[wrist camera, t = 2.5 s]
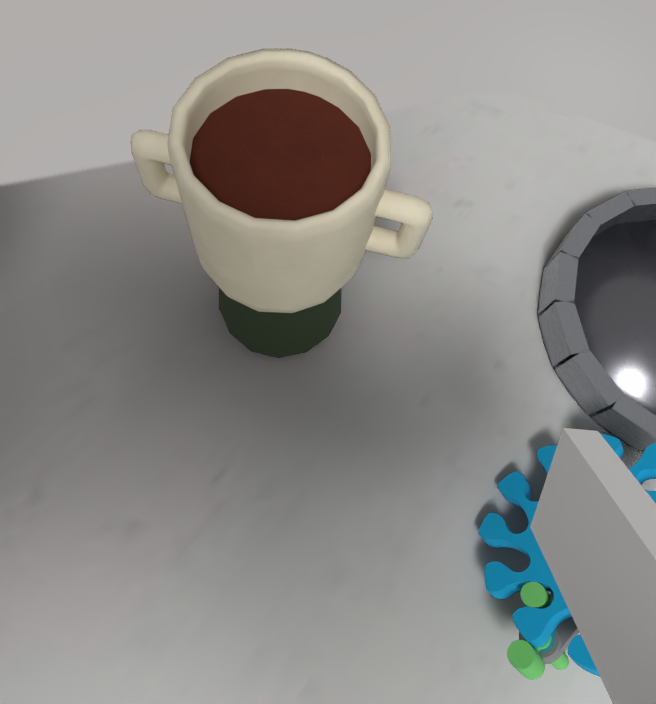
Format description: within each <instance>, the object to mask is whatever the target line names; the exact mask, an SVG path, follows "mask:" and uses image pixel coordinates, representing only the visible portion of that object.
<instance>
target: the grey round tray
mask: <svg viewBox="0 0 656 704" xmlns="http://www.w3.org/2000/svg"><path fill="white" fill-rule="evenodd" d="M538 315H539V317H538V319H539V322H540V329H541V333H542V338H543V342H544V345H545V348H546V351H547V354H548V356H549V359H550V361H551V363H552V366H553V367H554V369H555V371H556V373H557V375H558V377H559V379H560V380H561V382H562V383H563V385H564V386H565V388H566V389H567V391H568V392H569V394H570V395H571V396H572V397H573V398H574V400H575V401H576V402H577V403H578V404H579V406H580V407H581V408H582V409H583V410H584V411H585V412H586V413H587V414H588V415H589V416H590V417H591V418H592V419H593V420H594V421H595V422H596V423H598V424H599V425H600V426H602V427H603V428H604V429H606V430H607V431H608V432H609V433H611V434H612V435H614V436H615V437H617V438H618V439H620V440H622V441H623V442H625V443H627V444H628V445H630V446H632V447H634V448H636V449H637V450H639V451H640V450H641V451H642V452H643V453H644V451H645V449H646V448H647V447H648V446H649V445H651V444H653V443H656V188H648V189H637V190H627V191H626V192H625V191H624V192H622V193H620V194H618V195H617V196H615V197H613V198H611V199H609V200H608V201H606V202H604V203H602V204H600V205H598V206H597V207H595V208H593V209H591V210H589V211H588V212H586V213H585V214H584V215H583V216H582V217H581V219H580V220H579V221H578V222H577V223H576V224H575V225H574V226H573V227H572V229H571V230H570V231H569V232H568V233H567V234H566V236H565V237H564V239H563V240H562V242H561V243H560V245H559V246H558V248H557V249H556V250H555V252H554V253H553V255H552V257H551V258H550V260H549V261H548V263H547V264H546V266H545V269H544V270H543V277H542V282H541V287H540V292H539V306H538Z"/></svg>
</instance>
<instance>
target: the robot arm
mask: <svg viewBox="0 0 656 704" xmlns="http://www.w3.org/2000/svg"><path fill="white" fill-rule="evenodd" d="M530 528H531V530H532V532H533V534H534V536H535V538H536V541H537V543H538V545H539V547H540V549H541V551H542V553H543V556H544V558H545V560H546V562H547V564H548V566H549V568H550V570H551V573H552V575H553V577H554V579H555V581H556V583H557V585H558V587H559V590H560V592H561V594H562V596H563V598H564V600H565V602H566V605H567V607H568V609H569V611H570V613H571V615H572V617H573V619H574V622H575V624H576V626H577V628H578V630H579V632H580V634H581V636H582V639H583V641H584V643H585V645H586V647H587V649H588V651H589V654H590V656H591V658H592V660H593V662H594V664H595V666H596V668H597V671H598V673H599V675H600V677H601V679H602V681H603V683H604V686H605V688H606V690H607V692H608V694H609V696H610V698H611V700H612V703H613V704H656V503H655V502H654V501H653V499H652V498H651V497H650V496H649V494H648V493H647V492H646V491H645V489H644V488H643V487H642V486H641V484H640V483H639V482H638V481H637V479H636V478H635V477H634V476H633V474H632V473H631V472H630V471H629V469H628V468H627V467H626V465H625V464H624V463H623V462H622V460H621V459H620V458H619V457H618V455H617V454H616V453H615V452H614V450H613V449H612V448H611V447H610V445H609V444H608V443H607V442H606V440H605V439H604V438H603V437H602V435H601V434H600V433H599V432H598V431H594V430H582V429H571V428H563V430H562V433H561V436H560V439H559V442H558V445H557V448H556V451H555V454H554V457H553V460H552V463H551V466H550V469H549V472H548V475H547V478H546V481H545V484H544V487H543V490H542V493H541V496H540V499H539V502H538V505H537V508H536V511H535V514H534V517H533V520H532V523H531V526H530Z"/></svg>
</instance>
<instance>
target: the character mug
mask: <svg viewBox="0 0 656 704" xmlns="http://www.w3.org/2000/svg"><path fill="white" fill-rule="evenodd" d="M131 150H132V155H133V158H134V160H135V163H136V166H137V169H138V171H139V174H140V177H141V179H142V182H143V185H144V187H145V188H146V189H147V191H148V192H149V193H150V194H152V195H154V196H156V197H159V198H161V199H165V200H169V201H173V202H177V203H181V204H183V208H184V211H185V215H186V219H187V222H188V226H189V229H190V233H191V236H192V239H193V242H194V245H195V248H196V251H197V254H198V257H199V260H200V263H201V266H202V268H203V269H204V270H205V271H206V273H207V274H208V275H209V276H210V277H211V278H212V279H213V281H214V282H215V283H216V284H217V285H218V286H219V309H220V311H221V314H222V316H223V318H224V320H225V323H226V325H227V327H228V330H229V332H230V333H231V334H232V335H233V336H234V337H235V338H237V339H238V340H239V341H240V342H241V343H243V344H244V345H245V346H246V347H247V348H248V349H250V350H251V351H254V352H258V353H262V354H266V355H270V356H274V357H278V358H280V357H284V356H289V355H294V354H299V353H304V352H307V351H308V350H310V349H311V348H312V347H314V346H315V345H316V344H318V343H319V342H320V341H322V340H323V339H325V338H326V337H327V336H329V334H330V332H331V330H332V328H333V326H334V324H335V323H336V321H337V319H338V317H339V315H340V313H341V287H342V286H344V285H345V284H346V283H347V282H348V281H349V280H350V279H352V278H353V276H354V274H355V272H356V270H357V268H358V266H359V264H360V262H361V260H362V258H363V256H364V254H365V252H366V250H368V251H372V252H376V253H380V254H384V255H388V256H392V257H396V258H406V259H408V258H410V257H411V256H412V255H414V254H415V252H416V251H417V250H418V249H419V247H420V245H421V243H422V241H423V238H424V236H425V234H426V232H427V230H428V228H429V225H430V223H431V221H432V219H433V217H432V209H431V206H430V204H429V202H427V201H425V200H423V199H421V198H419V197H415V196H411V195H407V194H403V193H400V192H396V191H392V190H388V189H385V186H386V183H387V179H388V176H389V172H390V165H391V145H390V126H389V124H388V122H387V119H386V117H385V115H384V113H383V111H382V109H381V107H380V105H379V102H378V100H377V98H376V96H375V94H373V92H372V91H371V90H369V88H367V87H366V86H365V85H364V84H363V83H362V82H361V81H360V80H359V79H358V78H357V77H356V76H355V75H354V74H353V73H352V72H351V71H350V70H348V69H346V68H344V67H343V66H341V65H339V64H337V63H336V62H333V61H332V60H330V59H328V58H326V57H323V56H320V55H317V54H314V53H311V52H308V51H301V50H294V49H261V50H257V51H252V52H249V53H245V54H241V55H237V56H234V57H229V58H227V59H225V60H223V61H222V62H220V63H219V64H217V65H216V66H214V67H212V68H211V69H209V70H207V71H206V72H204V73H203V74H201V75H199V76H198V77H196V78H195V79H194V80H193V82H192V83H191V84H190V86H189V87H188V88H187V90H186V91H185V92H184V94H183V95H182V97H181V98H180V99H179V100H178V102H177V103H176V104H175V106H174V107H173V110H172V117H171V124H170V130H169V135H168V134H164V133H160V132H156V131H152V130H139V131H137V132H135V133H133V134H132V136H131ZM164 163H165V164H169V165H172V168H173V172H174V175H175V176H174V175H171V174H169V173H167V171H166V169H165V166H164ZM376 217H380V218H384V219H388V220H392V221H396V222H400V223H401V226H400V229H399V231H393V230H389V229H385V228H381V227H377V226H374V224H375V220H376Z"/></svg>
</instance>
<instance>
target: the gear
mask: <svg viewBox="0 0 656 704" xmlns="http://www.w3.org/2000/svg"><path fill="white" fill-rule="evenodd" d="M601 435H602V437H603V438H604V439H605V440H606V442H607V443H608V444H609V445H610V447H611V448H612V449H613V450H614V452H615V453H616V454H617V455H618V457H619V458H620V459H622V457H623V455H624V449H623V447H622V444H621V442H620V440H619V439H618V438H616V437H613V436H610V435H605V434H601ZM556 448H557V445H551V446H546V447H543V448H540V449H539V450H538V452H537V457H538V459H539V461H540V463H541V465H542V466H543V468H544V470H545V471H546V472H547V475H548V472H549V469H550V466H551V463H552V460H553V457H554V454H555V451H556ZM629 471H630V472H631V473H632V474H633V476H634V477H635V478H636V479H637V481H638V482H639V483H640V484H642V483H643V482H644V481H646V480H648V479H656V443H653V444H651V445H649V446H648V447H647V448H646V449H645V451H644V453H643V455H642V457H641V458H640V460H639V461H638V462H637V463H636V464H635V465H634V466H632V467H631V468H629ZM498 488H499V490H500V492H501V493H502V494H503V496H504V497H505V499H506V500H507V501H509V502H510V503H513V504H515V505H517V506H519V507H520V508H522V509H523V510H524V511H525V513H526V515H527V517H528V520H529V525H528V528H527V529H526V530H525V531H524V532H523V533H520V534H514V533H511V530H510V528H509V526H508V525H507V524H506V522H505V521H504V519H503V518H502V517H501V516H500V515H498V514H496V513H489V514H488V515H487V516H486V517H485V519H484V520H483V522H482V524H481V527H480V530H479V532H478V534H479V535H480V536H481V537H482V539H483V540H484V541H485V542H486V544H488V545H489V546H491V547H509V548H513V549H516V550H519V551H521V552H522V553H524V554H525V555H527V556H528V557H529V558H530V565H529V567H528V568H527V569H526V570H525V571H523V572H514V571H512V570H510V569H509V568H508V567H507V566H505V565H504V564H503V563H501V562H496V561H494V562H490V563H488V564H486V567H485V583H486V589H487V590H488V592H489V593H490V594H491V595H492V596H493V597H495V598H497V599H505V598H508V597H509V596H511V595H512V594H514V593H516V592H518V591H521V593H520V595H521V599H522V601H523V602H524V604H525V605H526V606H527V607H521V608H519V609H518V610H516V611H515V612H514V614H513V616H512V617H513V621H514V623H515V625H516V627H517V629H518V630H519V640H516V641H514V642H512V643H511V644H510V646H509V648H508V652H507V655H508V659H509V661H510V663H511V664H512V665H513V666H514V667H515V668H516V669H517V670H518V671H519V672H520V673H521V674H522V675H523V676H524V677H526V678H528V679H537V678H539V677H540V676H541V675H542V674H543V672H544V669H545V664H548V663H551V664H552V665H553V666H554V667H555V668H557V669H560V670H563V669H565V668H566V667H567V666H568V664H569V660H568V657H567V655H566V654H565V653H564V651H565V650H566V649H567V647H568V655H569V656H570V657H571V658H572V660H573V661H574V662H575V663H576V664H577V665H578V666H580V667H581V668H583V669H584V670H586V671H588V672H590V673H592V674H594V675H597V676H600V675H599V673H598V671H597V668H596V666H595V664H594V662H593V660H592V658H591V656H590V654H589V651H588V649H587V647H586V645H585V643H584V641H583V639H582V636H581V634H580V635H578V633H579V630H578V628H577V626H576V624H575V622H574V619H573V617H572V615H571V613H570V611H569V609H568V607H567V605H566V602H565V600H564V598H563V596H562V594H561V592H560V590H559V587H558V585H557V583H556V581H555V579H554V577H553V575H552V573H551V570H550V568H549V566H548V564H547V562H546V560H545V558H544V556H543V553H542V551H541V549H540V547H539V545H538V543H537V541H536V538H535V536H534V534H533V532H532V530H531V528H530V526H531V523H532V520H533V517H534V514H535V511H536V508H537V505H538V502H539V501H535V502H534V501H530V493H531V488H530V485H529V484H528V482H527V480H526V479H525V477H524V476H523V475H522V474H521V473H520V472H518V471H516V472H513V473H511V474H509V475H508V476H506V477H505V478H504V479H503V480H501V481H500V482H499V483H498ZM645 491H646V492H647V493H648V494H649V496H650V497H651V498H652V499H653V501H654V502H655V503H656V491H648V490H645ZM547 591H551V594H550V595H549V594H548V592H547Z"/></svg>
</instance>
